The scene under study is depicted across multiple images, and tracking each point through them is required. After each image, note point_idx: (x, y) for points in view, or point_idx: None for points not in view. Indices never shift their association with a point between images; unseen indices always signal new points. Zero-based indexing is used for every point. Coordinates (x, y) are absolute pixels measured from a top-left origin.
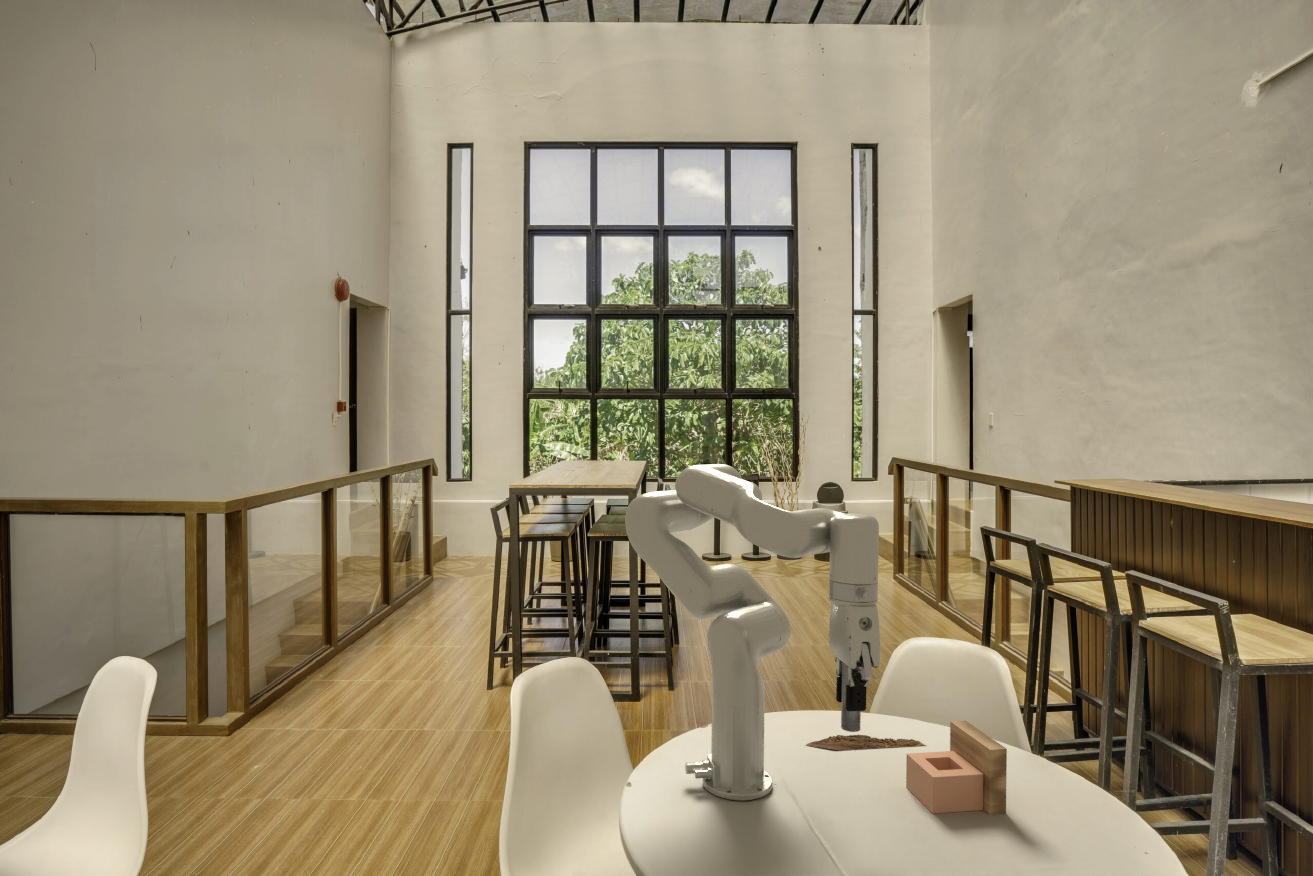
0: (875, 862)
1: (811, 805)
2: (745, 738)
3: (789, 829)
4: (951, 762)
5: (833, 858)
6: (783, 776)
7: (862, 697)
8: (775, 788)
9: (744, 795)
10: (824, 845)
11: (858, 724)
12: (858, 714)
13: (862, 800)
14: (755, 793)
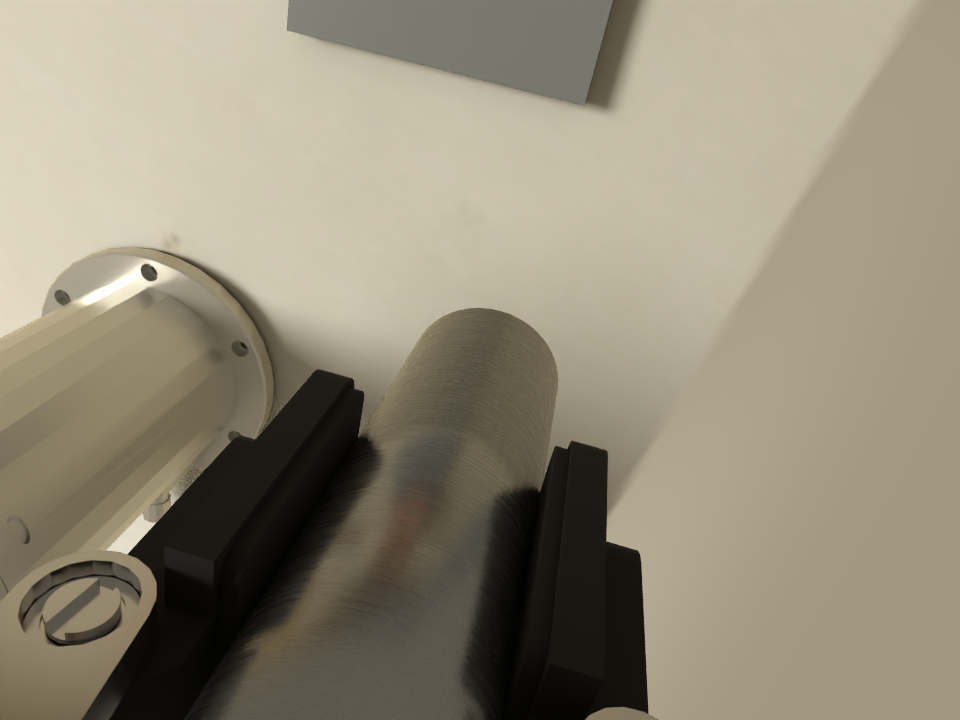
0: (757, 232)
1: (345, 206)
2: (121, 506)
3: None
4: None
5: (665, 344)
6: (121, 176)
7: (641, 633)
8: (206, 257)
9: (265, 408)
10: (589, 324)
11: (551, 390)
12: (541, 438)
13: None
14: (261, 373)
